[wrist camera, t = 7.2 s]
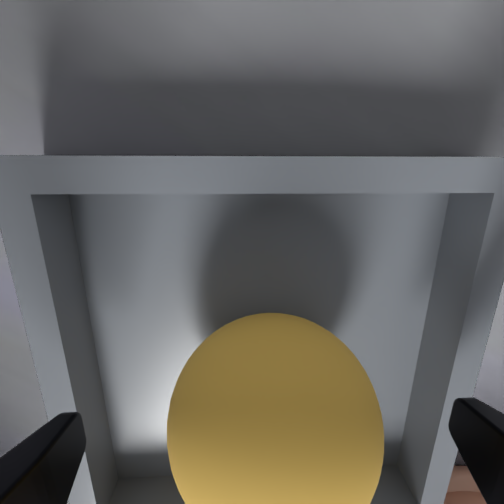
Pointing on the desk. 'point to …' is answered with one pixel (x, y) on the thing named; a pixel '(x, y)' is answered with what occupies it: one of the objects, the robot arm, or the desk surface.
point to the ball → (274, 418)
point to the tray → (251, 290)
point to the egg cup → (463, 488)
